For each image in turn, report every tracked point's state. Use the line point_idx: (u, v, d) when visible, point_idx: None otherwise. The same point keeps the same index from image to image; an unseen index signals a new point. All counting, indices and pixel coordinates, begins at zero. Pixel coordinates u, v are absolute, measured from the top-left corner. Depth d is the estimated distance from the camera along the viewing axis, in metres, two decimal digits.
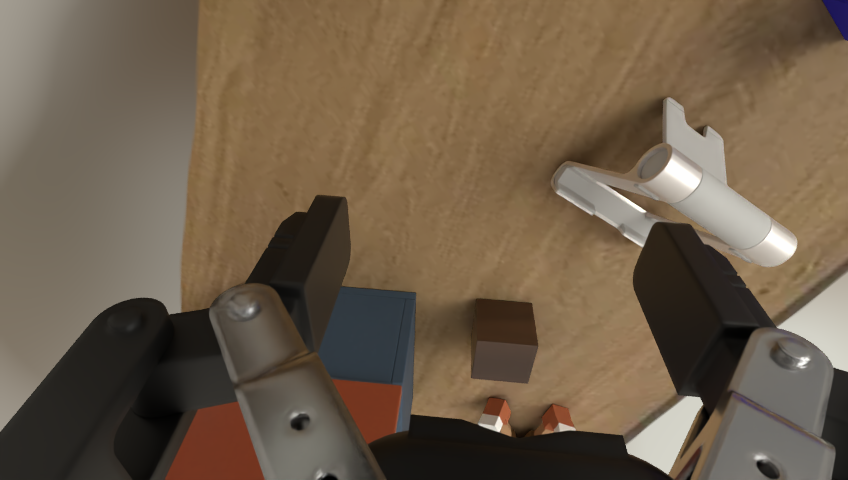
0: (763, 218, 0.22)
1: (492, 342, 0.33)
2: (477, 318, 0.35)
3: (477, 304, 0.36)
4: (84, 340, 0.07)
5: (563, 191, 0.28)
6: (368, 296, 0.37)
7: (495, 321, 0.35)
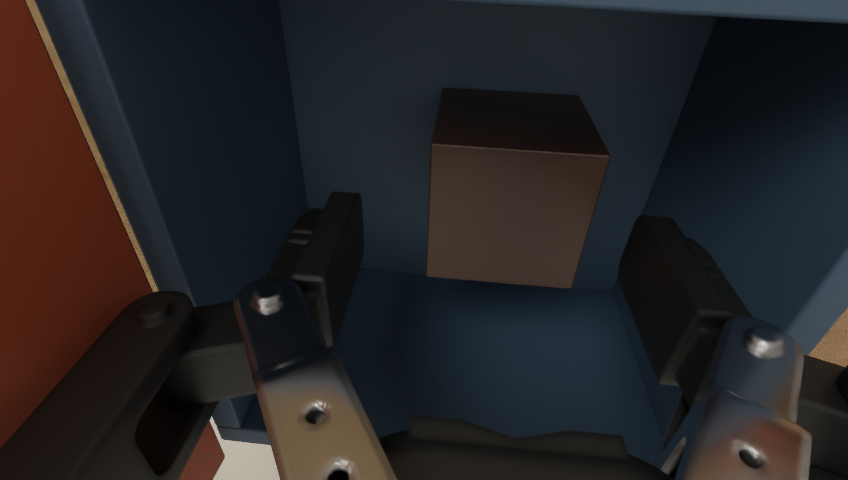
0: None
1: (429, 249, 0.13)
2: None
3: None
4: (113, 329, 0.08)
5: None
6: None
7: None
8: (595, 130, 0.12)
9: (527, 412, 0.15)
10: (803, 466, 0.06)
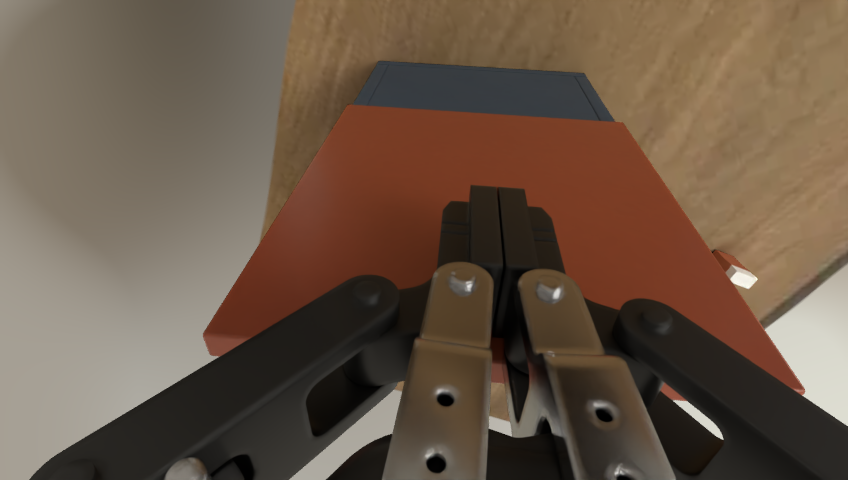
0: None
1: None
2: None
3: None
4: (333, 294, 0.08)
5: None
6: (527, 73, 0.29)
7: None
8: None
9: None
10: (632, 392, 0.07)
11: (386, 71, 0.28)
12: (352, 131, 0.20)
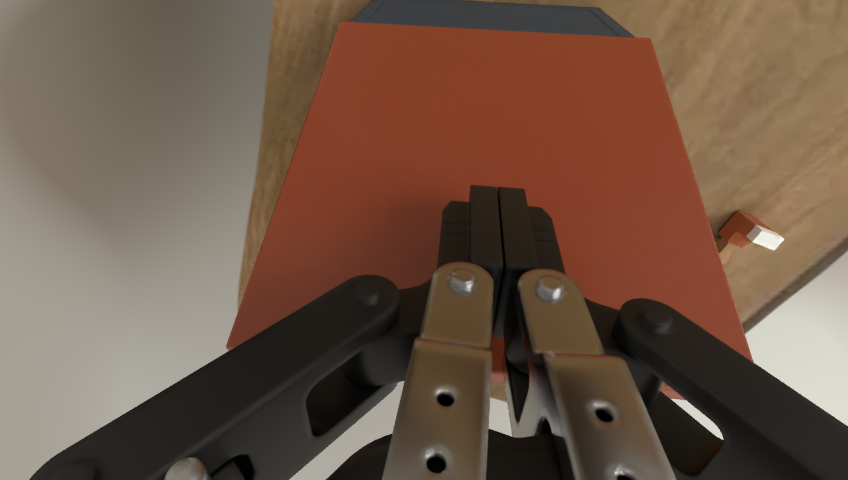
0: None
1: None
2: None
3: None
4: (333, 294, 0.08)
5: None
6: (538, 7, 0.27)
7: None
8: None
9: None
10: (633, 392, 0.07)
11: (384, 3, 0.26)
12: (347, 66, 0.18)
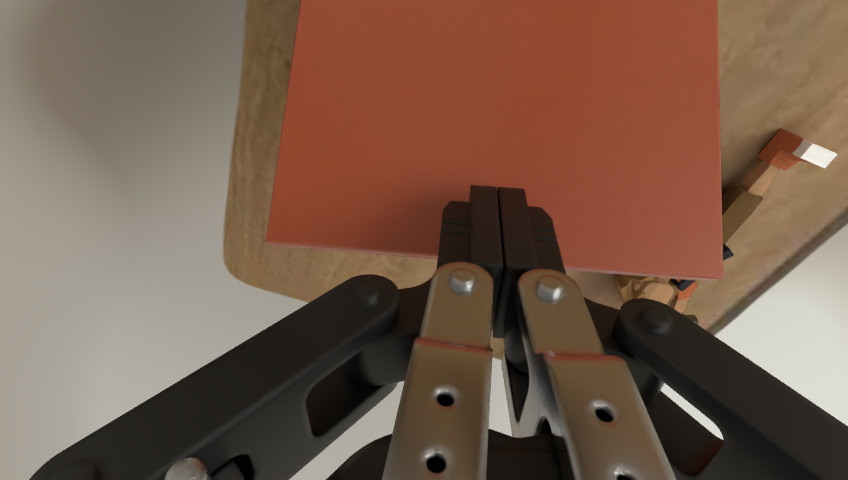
0: None
1: None
2: None
3: None
4: (333, 294, 0.08)
5: None
6: None
7: None
8: None
9: None
10: (632, 392, 0.07)
11: None
12: None
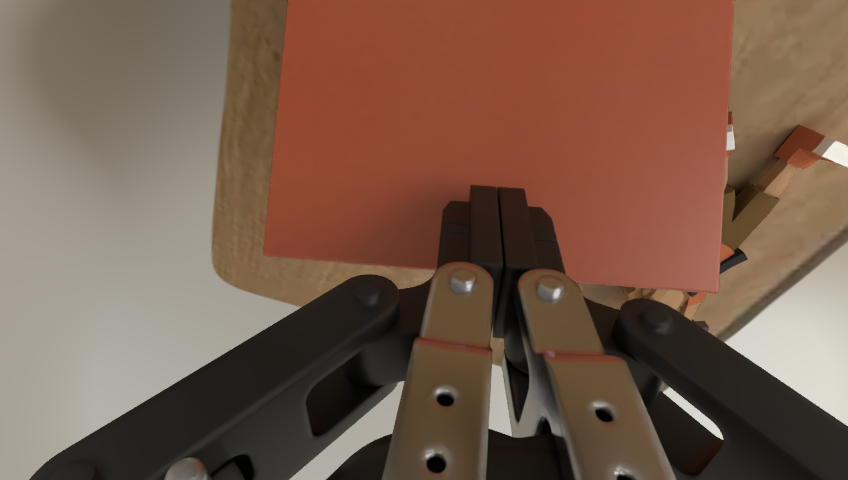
0: None
1: None
2: None
3: None
4: (333, 294, 0.08)
5: None
6: None
7: None
8: None
9: None
10: (633, 393, 0.07)
11: None
12: None
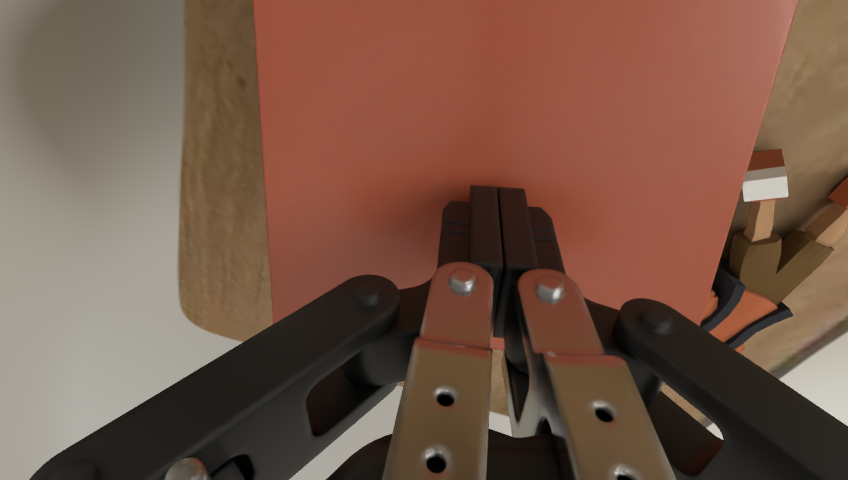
0: None
1: None
2: None
3: None
4: (333, 294, 0.08)
5: None
6: None
7: None
8: None
9: None
10: (633, 393, 0.07)
11: None
12: None
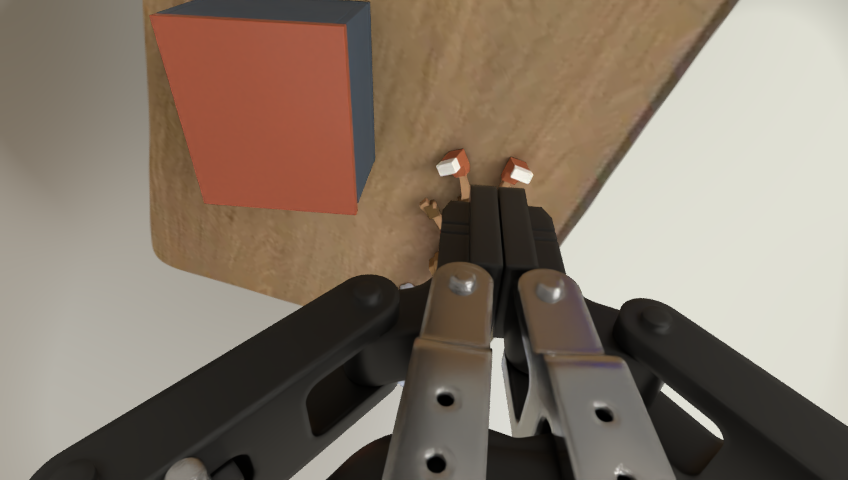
0: None
1: None
2: None
3: None
4: (333, 294, 0.08)
5: None
6: (323, 1, 0.38)
7: None
8: None
9: None
10: (632, 392, 0.07)
11: None
12: (176, 64, 0.33)
